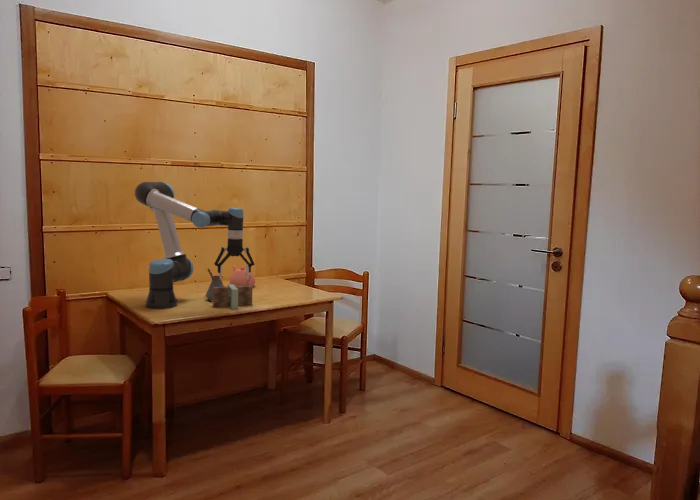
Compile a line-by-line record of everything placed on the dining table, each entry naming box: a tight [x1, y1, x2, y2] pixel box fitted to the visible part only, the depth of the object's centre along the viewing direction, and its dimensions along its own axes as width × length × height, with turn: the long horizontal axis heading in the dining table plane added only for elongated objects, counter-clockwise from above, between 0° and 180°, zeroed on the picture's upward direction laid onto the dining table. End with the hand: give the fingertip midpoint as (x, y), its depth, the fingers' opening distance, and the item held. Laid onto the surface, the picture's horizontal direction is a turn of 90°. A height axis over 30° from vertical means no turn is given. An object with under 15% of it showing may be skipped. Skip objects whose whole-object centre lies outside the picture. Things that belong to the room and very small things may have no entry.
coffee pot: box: [205, 268, 225, 302], centre depth 293 cm, size 21×12×15 cm, turn 33°
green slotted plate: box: [227, 283, 239, 310], centre depth 278 cm, size 3×14×10 cm, turn 22°
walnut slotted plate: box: [212, 285, 253, 308], centre depth 278 cm, size 20×3×10 cm, turn 112°
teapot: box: [229, 264, 256, 288], centre depth 328 cm, size 22×16×12 cm
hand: (234, 279), depth 272 cm, fingers open, 13 cm apart
